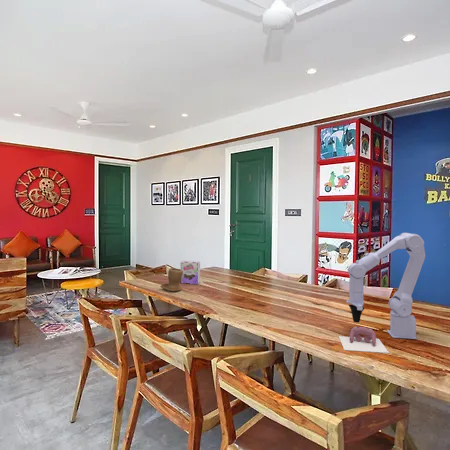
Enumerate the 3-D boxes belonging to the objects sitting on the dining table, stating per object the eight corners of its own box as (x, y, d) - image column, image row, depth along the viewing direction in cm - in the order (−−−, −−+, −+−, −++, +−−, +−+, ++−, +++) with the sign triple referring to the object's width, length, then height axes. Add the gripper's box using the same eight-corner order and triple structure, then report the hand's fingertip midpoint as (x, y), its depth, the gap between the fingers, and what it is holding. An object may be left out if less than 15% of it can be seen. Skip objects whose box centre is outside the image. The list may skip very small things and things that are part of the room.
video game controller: (375, 347, 132) (376, 329, 135) (375, 346, 128) (376, 327, 131) (349, 343, 136) (350, 325, 139) (348, 341, 133) (349, 324, 135)
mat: (378, 338, 137) (378, 338, 137) (389, 353, 124) (389, 352, 124) (338, 336, 140) (338, 336, 140) (344, 350, 126) (344, 349, 126)
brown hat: (186, 290, 223) (186, 268, 223) (170, 293, 216) (170, 270, 215) (175, 286, 235) (174, 265, 235) (159, 289, 228) (159, 267, 227)
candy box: (180, 283, 245) (180, 261, 245) (183, 281, 251) (183, 260, 250) (197, 284, 241) (197, 262, 241) (200, 283, 247) (200, 261, 246)
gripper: (343, 287, 151) (343, 316, 151) (349, 295, 137) (349, 327, 137) (360, 287, 150) (359, 316, 150) (367, 295, 135) (367, 328, 136)
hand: (356, 321), depth 144 cm, fingers closed
